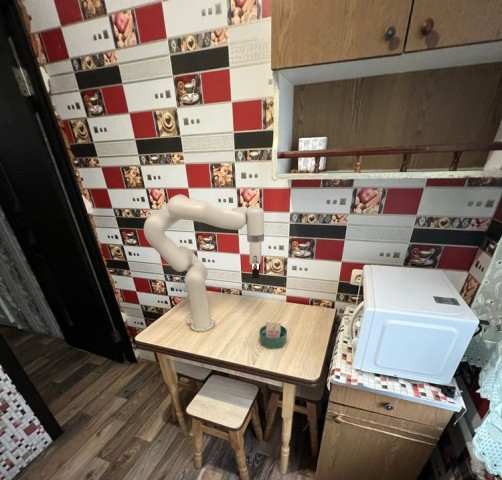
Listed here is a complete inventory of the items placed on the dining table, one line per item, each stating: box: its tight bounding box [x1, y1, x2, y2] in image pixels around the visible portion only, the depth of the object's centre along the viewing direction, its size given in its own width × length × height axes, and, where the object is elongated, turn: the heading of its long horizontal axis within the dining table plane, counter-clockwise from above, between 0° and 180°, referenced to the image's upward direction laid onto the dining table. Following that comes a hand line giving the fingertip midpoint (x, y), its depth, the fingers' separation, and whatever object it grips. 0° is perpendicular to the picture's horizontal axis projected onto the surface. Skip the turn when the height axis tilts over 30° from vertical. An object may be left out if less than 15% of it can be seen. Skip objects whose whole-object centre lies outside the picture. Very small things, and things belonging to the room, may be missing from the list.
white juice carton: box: [265, 321, 282, 338], centre depth 132 cm, size 4×7×10 cm, turn 78°
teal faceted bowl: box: [258, 324, 288, 349], centre depth 133 cm, size 13×13×6 cm
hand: (256, 274), depth 133 cm, fingers open, 9 cm apart
